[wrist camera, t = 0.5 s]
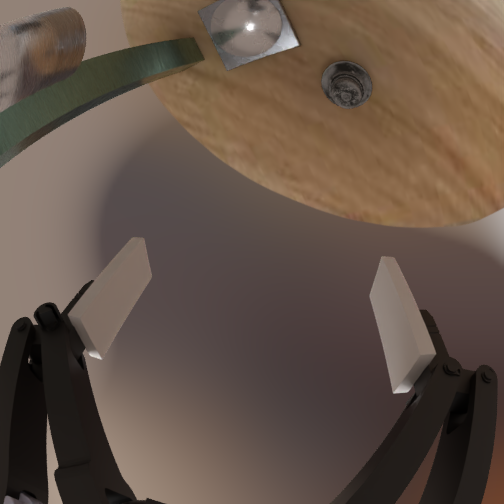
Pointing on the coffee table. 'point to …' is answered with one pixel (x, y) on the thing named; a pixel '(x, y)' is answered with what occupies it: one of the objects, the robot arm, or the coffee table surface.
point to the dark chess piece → (346, 84)
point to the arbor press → (112, 63)
